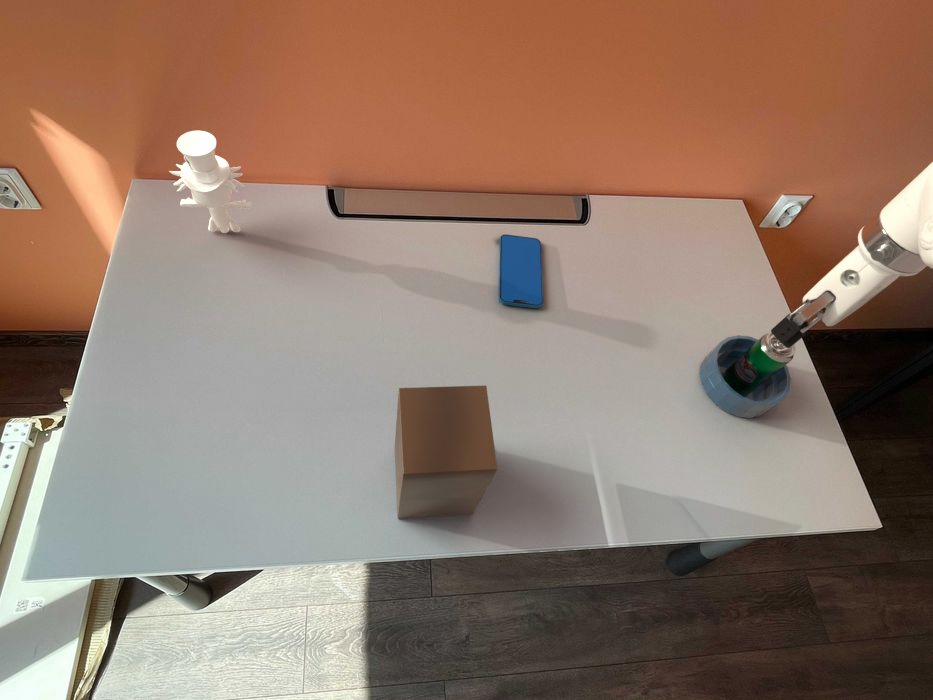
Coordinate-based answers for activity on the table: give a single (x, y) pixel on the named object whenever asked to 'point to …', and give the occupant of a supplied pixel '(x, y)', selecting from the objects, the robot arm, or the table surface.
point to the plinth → (442, 450)
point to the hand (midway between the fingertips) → (802, 324)
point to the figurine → (208, 179)
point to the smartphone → (520, 271)
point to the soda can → (758, 364)
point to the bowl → (725, 395)
